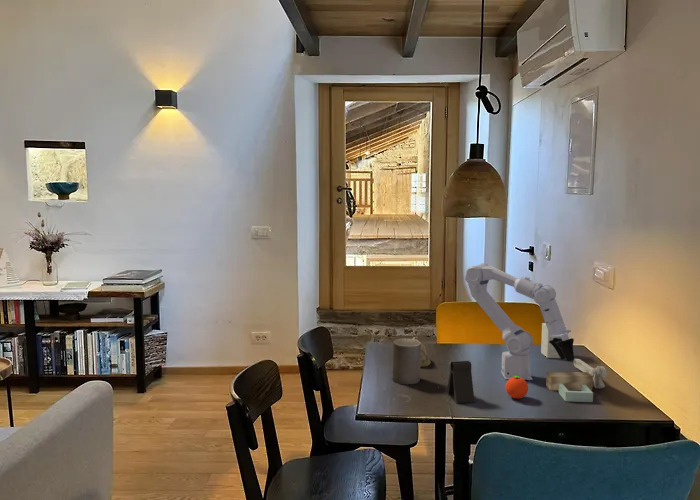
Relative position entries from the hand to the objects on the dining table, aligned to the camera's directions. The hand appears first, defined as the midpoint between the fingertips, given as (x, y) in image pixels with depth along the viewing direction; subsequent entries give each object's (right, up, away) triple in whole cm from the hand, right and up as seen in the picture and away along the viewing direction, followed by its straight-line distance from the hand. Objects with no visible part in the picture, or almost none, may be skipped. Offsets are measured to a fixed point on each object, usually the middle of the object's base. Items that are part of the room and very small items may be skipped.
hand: (567, 359), depth 182 cm
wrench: (+11, -9, +10) cm, 17 cm away
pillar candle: (-53, -9, +9) cm, 55 cm away
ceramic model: (-48, -7, +29) cm, 56 cm away
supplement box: (+8, -6, +36) cm, 37 cm away
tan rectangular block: (+1, -10, +1) cm, 10 cm away
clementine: (-20, -11, -8) cm, 24 cm away
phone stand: (-38, -11, -8) cm, 40 cm away
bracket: (-1, -10, -7) cm, 13 cm away
